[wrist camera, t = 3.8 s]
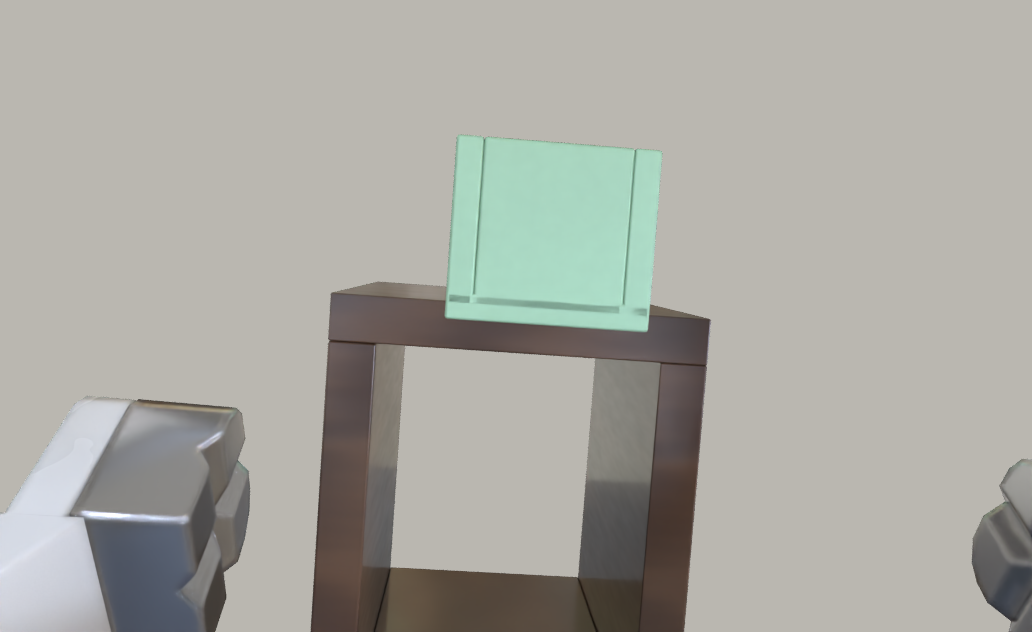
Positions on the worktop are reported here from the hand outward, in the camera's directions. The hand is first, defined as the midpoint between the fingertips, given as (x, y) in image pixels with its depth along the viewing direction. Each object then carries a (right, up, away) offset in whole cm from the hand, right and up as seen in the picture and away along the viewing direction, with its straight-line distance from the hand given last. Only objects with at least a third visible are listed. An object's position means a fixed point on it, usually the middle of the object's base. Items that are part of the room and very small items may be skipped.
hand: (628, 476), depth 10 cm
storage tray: (-1, +2, +21) cm, 21 cm away
